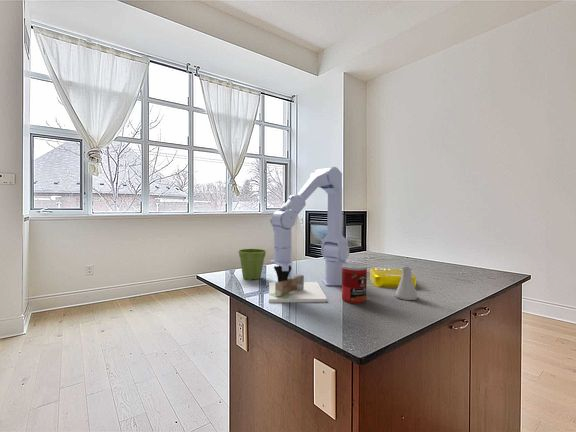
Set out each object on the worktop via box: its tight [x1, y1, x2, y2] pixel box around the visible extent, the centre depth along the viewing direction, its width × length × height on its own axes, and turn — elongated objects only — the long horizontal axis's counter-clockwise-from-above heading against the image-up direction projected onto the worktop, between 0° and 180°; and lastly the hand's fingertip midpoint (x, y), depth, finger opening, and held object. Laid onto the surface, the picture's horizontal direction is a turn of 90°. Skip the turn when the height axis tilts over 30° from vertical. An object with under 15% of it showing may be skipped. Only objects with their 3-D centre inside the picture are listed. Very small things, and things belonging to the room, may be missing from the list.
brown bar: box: [275, 273, 305, 296], centre depth 100 cm, size 13×4×4 cm, turn 141°
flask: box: [394, 265, 419, 301], centre depth 100 cm, size 7×7×10 cm
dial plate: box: [268, 281, 328, 304], centre depth 104 cm, size 18×20×1 cm
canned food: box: [341, 262, 368, 304], centre depth 97 cm, size 8×8×11 cm
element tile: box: [369, 267, 417, 289], centre depth 119 cm, size 15×15×5 cm
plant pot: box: [237, 248, 268, 281], centre depth 124 cm, size 12×12×11 cm
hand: (282, 287), depth 101 cm, fingers closed, pressing on brown bar
